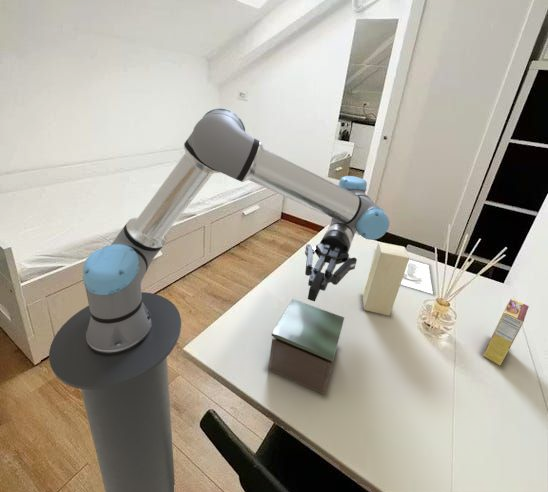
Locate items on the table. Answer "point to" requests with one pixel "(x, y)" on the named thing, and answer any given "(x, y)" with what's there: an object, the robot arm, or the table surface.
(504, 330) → the candy box
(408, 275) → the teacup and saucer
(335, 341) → the chest lid
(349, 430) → the table surface
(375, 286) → the toy refrigerator
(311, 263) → the robot arm
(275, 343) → the chest
